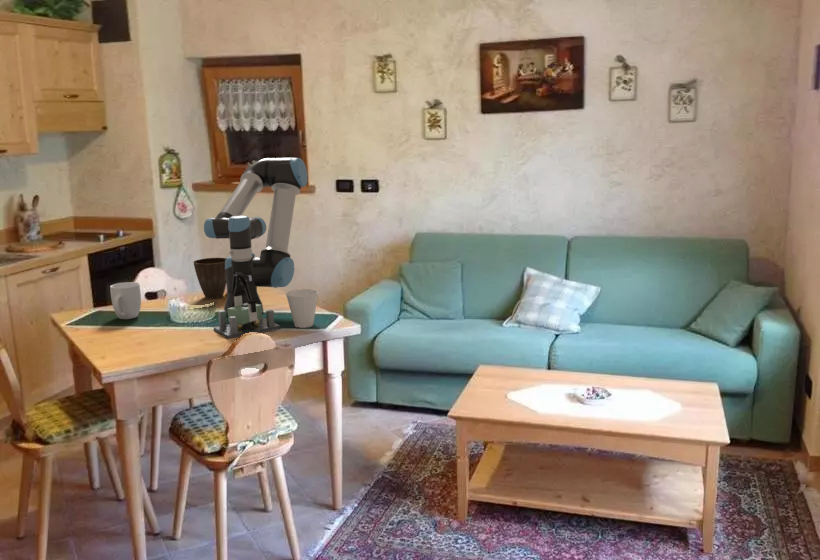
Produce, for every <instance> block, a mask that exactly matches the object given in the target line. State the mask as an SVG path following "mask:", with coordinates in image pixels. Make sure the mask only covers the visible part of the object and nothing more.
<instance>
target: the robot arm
mask: <svg viewBox="0 0 820 560" xmlns="http://www.w3.org/2000/svg"><path fill="white" fill-rule="evenodd" d="M239 180H240V181H239V183H238V185H237V187H236V188H235V189H234V190H233V192H232V193H231V195H230V197H229V198H228V199H227V200H226V203H224V204H223V207H222V208H221V209H220V211H219V213H218V214H217V215H216V217H209V218H207V219H205V220H204V223H203V232H204V234H205V236H206V237H207V238H210V239H216V240H217V239H228V240H229V249H230V251H229V252H228V253H229V255H230V256H228V257H225V258H226V260H225V273H226V293H227V294H226V299H225V302H224V306H223V310H224V311H225V312H226V316H228V308H231V307H235V306H238V305H241V304H245V303H247V304H248V309H249V321H250V322H251V321H256V320H257V308H256V304H260V305H262V312H263V311H264V305H263V302H262V300H261V297H260V295H259V293H258V287H259V288H260V287H261V288H276V289H277V288H285V287H287V286H289V284H290V283H291V282H292V281H293V278H294V275H295V274H294V273H295V263H294V260H293V259H292V257H291V254H290V253H289V251H288V250H289V242H290V235H291V231H292V230H291V229H292V223H293V222H292V221H293V216H294V208H295V204H296V203H295V202H296V196H297V195H299V194H300V193H301V188H304V187H306V186H307V184H308V170H307V166H306V164H305V162H304V161H303V159H301V158H300V157H292V156H290V157H276V158H275V157H266V158H262V159H260V160H258V161H255V162H253V164H251V165H250V166H249V167H248V168H247V169H246V170H244V172H243V173H242V175H241V176H240V178H239ZM268 187H269V188H270V189H271V190H272V191H273V197H272V198H273V199H272V204H271V210H270V211H271V212H270V217H269V223H268V230H267V224H266V221H265V220H264V219H263V218H261V217H259V216H252V217H249V216H247V215H243V214H244V213H245V211H246V209H248V206H249V205H250V203H252V200H253V199H254V198H255V196H256V194H257V193H260V192H261V191H262V190H263V189H264V188H268ZM266 231H267V236H266V243H265V247H264V248H263V249H261V251H260V255H259V256H256V255H255V253H254V252H253V247H252V240H254V239H259V238H260V237H261V236H264V234H265V233H266Z"/></svg>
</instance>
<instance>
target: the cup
mask: <svg viewBox="0 0 820 560" xmlns="http://www.w3.org/2000/svg"><path fill="white" fill-rule="evenodd" d="M318 294H319V291H318V290H316V289H313V288H310V289H309V288H301V289H293V290H289V291H287V292H286V293H285V296H286V300H287V302H288V307H289V310H290V314H291V317H292V320H293V324H294V327H296V328H298V327H299V328H300V329H302V328H303V329H306V328H310V327H313V326H314V322H315V316H316V307H317V302H318ZM299 328H298V329H299Z"/></svg>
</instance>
